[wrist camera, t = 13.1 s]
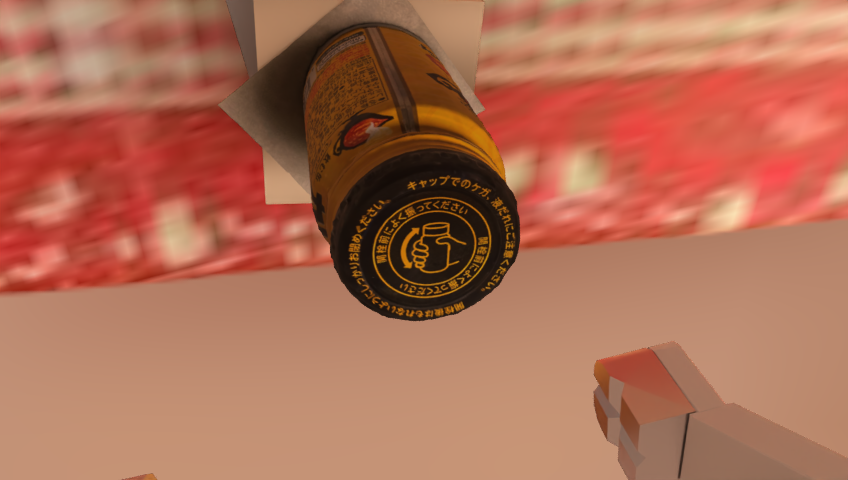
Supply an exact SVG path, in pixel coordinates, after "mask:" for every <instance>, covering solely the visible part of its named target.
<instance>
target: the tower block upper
mask: <svg viewBox="0 0 848 480" xmlns="http://www.w3.org/2000/svg"><path fill="white" fill-rule="evenodd" d="M343 1H344V0H253V2H254V18H255V35H256V51H257V67H258V71H259V70H260V69H262V68H263V67H264V66H265V65H266V64H268V63H269V62H270V61H271V60H273V59H274V58H275V57H276V56H278V55H279V54H281V53H282V52H283V51H284V50H285V49H286V48H288V47H289V46H290V45H291V44H292V43H293V42H294V41H295V40H296V39H298V38H299V37H300V36H302V35H303V34H304V33H305V32H306V31H307V30H308V29H310V28H311V27H312V26H314V25H315V24H316V23H317V22H318V21H319V20H320V19H322V18H323V17H324V16H325V15H327V14H328V13H329V12H330V11H331V10H333V9H334V8H335V7H337V6H338V5H340V4H341V3H342V2H343ZM408 1H409V2H410V3H411V5H412V6H413V8H414V9H415V11H416V12H417V13H418V15H419V16H420V18H421V19H422V20H423V22H424V23H425V25H426V26H427V27H428V29H429V30H430V32H431V33H432V35H433V36H434V37H435V39H436V40H437V42H438V43H439V44H440V46H441V47H442V49H443V50H444V51H445V53H446V54H447V56H448V57H449V58H450V60H451V61H452V63H453V64H454V66H455V67H456V69H457V70H458V71H459V73H460V74H461V76H462V77H463V78H464V80H465V81H466V83H467V84H468V85H469V87H470V88H471V90H472V91H473V93H474V88H475V80H476V71H477V63H478V54H479V46H480V38H481V29H482V21H483V13H484V4H485V2H484V1H483V0H408ZM262 149H263V148H262ZM263 165H264V181H265V198H266V204H298V203H312V201H311V196H310V195H309V194H308V193H307V192H306V191H305V190H304V189H303V188H302V187H301V186H300V185H299V184H298V183H297V182H296V181H295V180H294V178H293V177H292V176H291V175H290V173H288V172H286V171H285V170H284V169H283V168H282V167H281V166H280V165H279V164H278V163H277V162H276V161H275V160H274V159H273V158H272V156H271V155H270V154H269V153H267V152H266V151H265V150H264V149H263Z"/></svg>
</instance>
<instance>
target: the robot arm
mask: <svg viewBox="0 0 848 480" xmlns="http://www.w3.org/2000/svg"><path fill="white" fill-rule="evenodd" d="M594 376H595V378H596V380H597V382H598V383H599V385H598V387H597V388H596V389H595V391H594V407H595V411H596V416H597V419H598V422H599V424H600V427H601V429H602V431H603V433H604V435H605V437H606V439H607V441H609V442H610V443H612V444H614V445H616V446H618V462H619V463H620V465H621V467H622V469H623V471H624V473H625V474H626V476H627V478H628V480H848V458H847V457H845V456H843V455H841V454H838V453H836V452H834V451H832V450H830V449H828V448H826V447H824V446H822V445H820V444H817V443H816V442H814V441H812V440H809V439H807V438H805V437H803V436H801V435H799V434H797V433H795V432H793V431H791V430H789V429H787V428H785V427H783V426H780V425H778V424H776V423H774V422H772V421H770V420H768V419H766V418H764V417H762V416H760V415H758V414H756V413H754V412H751V411H749V410H747V409H745V408H743V407H741V406H739V405H737V404H735V403H731V404H725V403H724V401H723V400H722V399H721V398H720V396H719V395H718V394H717V393H716V391H715V390H714V389H713V387H712V386H711V385H710V384H709V382H708V381H707V380H706V378H705V377H704V376H703V375H702V373H701V372H700V371H699V369H698V368H697V367H696V366H695V364H694V363H693V362H692V360H691V359H690V358H689V357H688V356H687V354H686V353H685V351H684V350H683V349H682V348H681V346H680V345H679V344H678V343H676V342H674V341H671V342H668V343H663V344H660V345H656V346H652V347H648V348H642V349H639V350H635V351H631V352H627V353H623V354H620V355H616V356H612V357H608V358H604V359H601V360H597V361H596V363H595V365H594ZM122 480H157V479H156V477H155V476H154V474H153V473H151V474H145V475H140V476H136V477H132V478H127V479H122Z"/></svg>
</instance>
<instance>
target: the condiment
mask: <svg viewBox="0 0 848 480" xmlns="http://www.w3.org/2000/svg"><path fill="white" fill-rule="evenodd" d="M218 106H219V107H220V108H221V109H223V110H224V111H225V112H226V113H227V114H228V115H229V116H230V117H231V118H232V119H233V120H234V121H236V122H237V123H238V124H239V125H240V126H241V127H242V128H243V129H244V130H245V131H246V132H247V133H248V134H249V135H250V136H251V137H252V138H253V139H254V140H255V141H256V142H257V143H258V144H259V145H260V146H261V147H262V148H263V149H264V150H265V151H266V152H267V153H269V154H270V155H271V156H272V158H273V159H274V160H275V161H276V162H277V163H278V164H279V165H280V166H281V167H282V168H283V169H284V170H285V171H286V172H288V173H290V175H291V176H292V177H293V178H294V180H295V181H296V182H297V183H298V184H299V185H300V186H301V187H302V188H303V189H304V190H305V191H306V192H307V193H308V194H309V195H310V196H311V201H312V205H313V212H314V215H315V218H316V222H317V224H318V228H319V230H320V231H321V232H322V235H323V236H324V238H325V239H326V240H327V242H328V243H329V244H330V253H331V258H332V259H333V262H334V268H335V269H336V271H337V273H338V275H339V277H340V279H341V282H343V284H345V286H346V288H347V289H348V290H349V292H350V293H351V294H352V295H353V296H354V297H355V298H357V299H358V300H359V301H360V302H361V303H362V304H363V305H364V306H366V307H367V308H369V309H371V310H372V311H375V312H377V313H379V314H380V315H382V316H386V317H388V318H395V319H401V320H409V321H424V320H428V319H431V320H432V319H436V318H440V317H444V316H448V315H454V314H457V313H459V312H461V311H462V310H465V309H467V308H468V307H470V306H472V305H474V304H475V303H477V302H478V301H480V300H481V299H483V298H484V297H485V296H486V295H488V294H489V293H491V292H492V291H493V289H494V288H496V287H497V286H498V285H499V284H500V283H501V281H502V279H503V277H504V276H505V274H506V272H507V271H508V269H509V268H510V267H511V266H512V264H513V263H514V262H515V259H516V257H517V254H518V249H519V243H520V220H519V215H518V212H517V201H516V199H515V196H514V194H513V192H512V191H511V190H510V189H509V187H508V186H507V184H506V178H505V168H504V164H503V160H502V158H501V156H500V154H499V151H498V148H497V146H496V145H495V143H494V141H493V139H492V137H491V135H490V134H489V133H488V132H487V130H486V129H485V127H484V125H483V123H482V122H481V121H480V120H479V118H478V116H477V114H478V113H480V112H482V111H484V110H485V108H484V107H483V105H482V104H481V102H480V101H479V100H478V98H477V97H476V95H475V94H474V93H473V91H472V90H471V88H470V87H469V85H468V84H467V83H466V81H465V80H464V78H463V77H462V76H461V74H460V73H459V71H458V70H457V69H456V67H455V66H454V64H453V63H452V61H451V60H450V58H449V57H448V56H447V54H446V53H445V51H444V50H443V49H442V47H441V46H440V44H439V43H438V42H437V40H436V39H435V37H434V36H433V35H432V33H431V32H430V30H429V29H428V27H427V26H426V25H425V23H424V22H423V20H422V19H421V18H420V16H419V15H418V13H417V12H416V11H415V9H414V8H413V6H412V5H411V3H410V2H409V1H408V0H344V1H343V2H342V3H341V4H340V5H338V6H337V7H335V8H334V9H333V10H331V11H330V12H329V13H328V14H327V15H325V16H324V17H323V18H322V19H320V20H319V21H318V22H317V23H316V24H315V25H314V26H312V27H311V28H310V29H308V30H307V31H306V32H305V33H304V34H303V35H302V36H300V37H299V38H298V39H296V40H295V41H294V42H293V43H292V44H291V45H290V46H289V47H288V48H286V49H285V50H284V51H283V52H282V53H281V54H279V55H278V56H276V57H275V58H274V59H273V60H271V61H270V62H269V63H268V64H266V65H265V66H264V67H263V68H262V69H260V70H259V71H258V72H256V73H255V74H254V75H253V76H252V77H251V78H249V79H248V80H247V81H246V82H245V83H244V84H243V85H242V86H240V87H239V88H238V89H237V90H236V91H234V92H233V93H232V94H231V95H229V96H228V97H227V98H226V99H224V100H223V101H222V102H221V103H219V104H218Z"/></svg>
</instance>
